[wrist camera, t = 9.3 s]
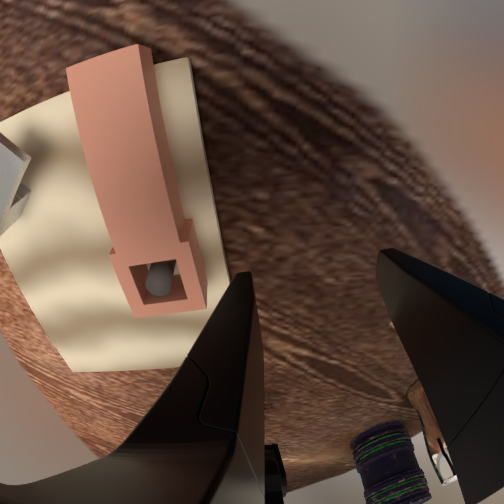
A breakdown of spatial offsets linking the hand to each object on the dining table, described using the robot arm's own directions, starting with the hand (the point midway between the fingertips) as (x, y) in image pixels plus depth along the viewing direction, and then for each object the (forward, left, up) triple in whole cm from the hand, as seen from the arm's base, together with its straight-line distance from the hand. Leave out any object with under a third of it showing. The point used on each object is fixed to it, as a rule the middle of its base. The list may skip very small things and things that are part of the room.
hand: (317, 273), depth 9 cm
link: (0, +8, -12) cm, 14 cm away
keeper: (+3, +16, -12) cm, 20 cm away
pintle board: (-5, +13, -13) cm, 19 cm away
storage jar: (-46, -14, -13) cm, 50 cm away
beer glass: (-33, -19, -13) cm, 40 cm away
